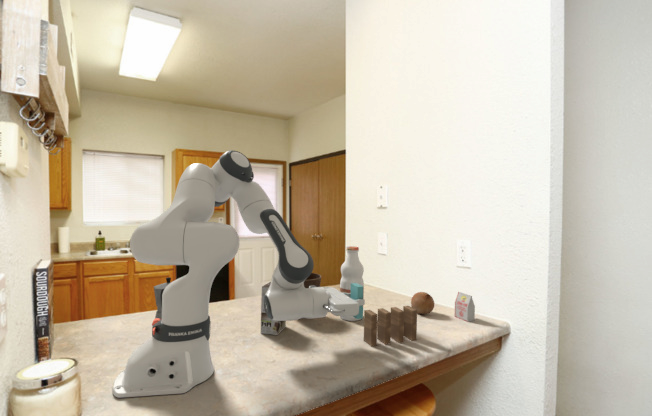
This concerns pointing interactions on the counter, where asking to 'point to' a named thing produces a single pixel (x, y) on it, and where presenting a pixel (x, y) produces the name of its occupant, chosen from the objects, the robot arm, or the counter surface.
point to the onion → (422, 303)
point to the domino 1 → (370, 327)
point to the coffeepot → (160, 297)
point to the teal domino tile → (355, 294)
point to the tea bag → (464, 307)
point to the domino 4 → (410, 323)
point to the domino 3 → (397, 324)
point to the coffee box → (266, 323)
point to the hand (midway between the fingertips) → (359, 298)
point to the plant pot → (312, 280)
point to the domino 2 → (384, 326)
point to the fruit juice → (351, 274)
